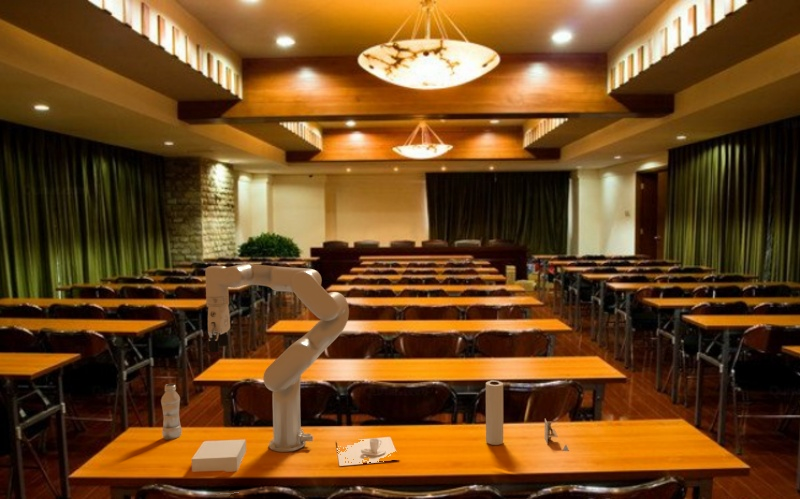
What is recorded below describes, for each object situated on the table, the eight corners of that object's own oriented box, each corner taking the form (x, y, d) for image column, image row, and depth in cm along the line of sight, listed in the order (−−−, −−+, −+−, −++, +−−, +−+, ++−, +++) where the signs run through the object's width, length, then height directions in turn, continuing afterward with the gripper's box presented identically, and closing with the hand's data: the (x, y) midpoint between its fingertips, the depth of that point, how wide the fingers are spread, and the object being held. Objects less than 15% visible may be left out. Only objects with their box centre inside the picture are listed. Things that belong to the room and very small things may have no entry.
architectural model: (554, 438, 199) (554, 418, 199) (557, 446, 192) (557, 425, 192) (544, 438, 200) (544, 418, 199) (547, 446, 193) (547, 425, 192)
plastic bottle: (185, 436, 205) (183, 383, 204) (172, 443, 199) (170, 388, 198) (171, 434, 207) (169, 381, 206) (158, 441, 201) (156, 387, 200)
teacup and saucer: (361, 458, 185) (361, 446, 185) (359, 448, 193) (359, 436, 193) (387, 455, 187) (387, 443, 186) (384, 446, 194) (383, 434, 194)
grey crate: (246, 453, 190) (245, 439, 190) (237, 472, 176) (236, 457, 176) (204, 455, 189) (203, 441, 189) (192, 474, 175) (191, 459, 175)
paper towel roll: (499, 446, 192) (499, 386, 191) (483, 443, 195) (483, 383, 194) (506, 439, 198) (506, 380, 197) (490, 436, 201) (490, 378, 200)
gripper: (219, 304, 187) (221, 354, 188) (235, 297, 204) (237, 343, 205) (197, 304, 187) (199, 354, 188) (215, 297, 204) (217, 343, 205)
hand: (219, 348), depth 196 cm, fingers open, 9 cm apart
